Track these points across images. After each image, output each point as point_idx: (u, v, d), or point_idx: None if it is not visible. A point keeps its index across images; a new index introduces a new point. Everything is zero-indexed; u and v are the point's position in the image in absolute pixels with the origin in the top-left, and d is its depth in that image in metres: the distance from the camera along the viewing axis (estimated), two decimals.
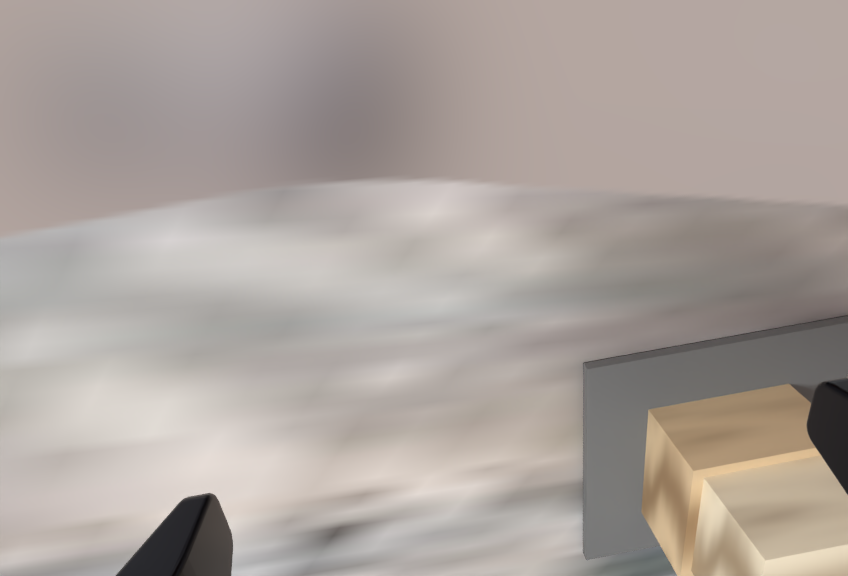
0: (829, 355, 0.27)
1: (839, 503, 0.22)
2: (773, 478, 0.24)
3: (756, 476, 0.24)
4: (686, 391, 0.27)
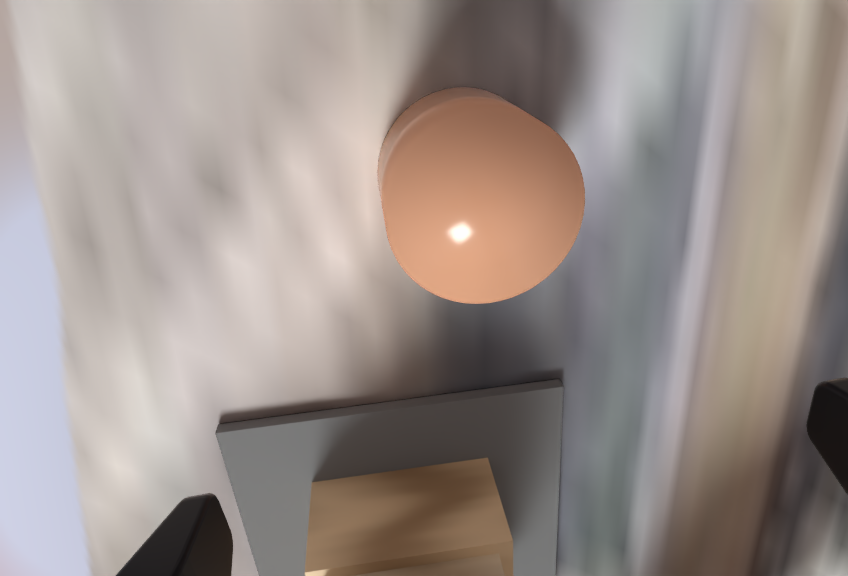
0: (270, 452, 0.22)
1: None
2: None
3: None
4: None
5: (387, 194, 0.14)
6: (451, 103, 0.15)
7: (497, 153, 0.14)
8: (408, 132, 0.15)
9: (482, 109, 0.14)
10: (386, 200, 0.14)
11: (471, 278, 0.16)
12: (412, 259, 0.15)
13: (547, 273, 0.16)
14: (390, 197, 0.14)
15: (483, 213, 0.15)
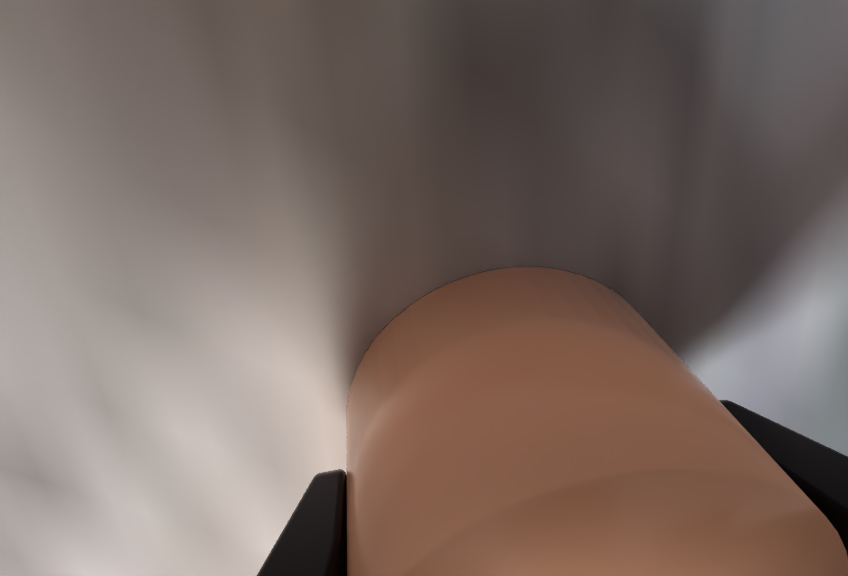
0: None
1: None
2: None
3: None
4: None
5: None
6: (500, 376, 0.06)
7: (639, 554, 0.05)
8: (398, 452, 0.06)
9: (602, 471, 0.05)
10: None
11: None
12: None
13: None
14: None
15: None
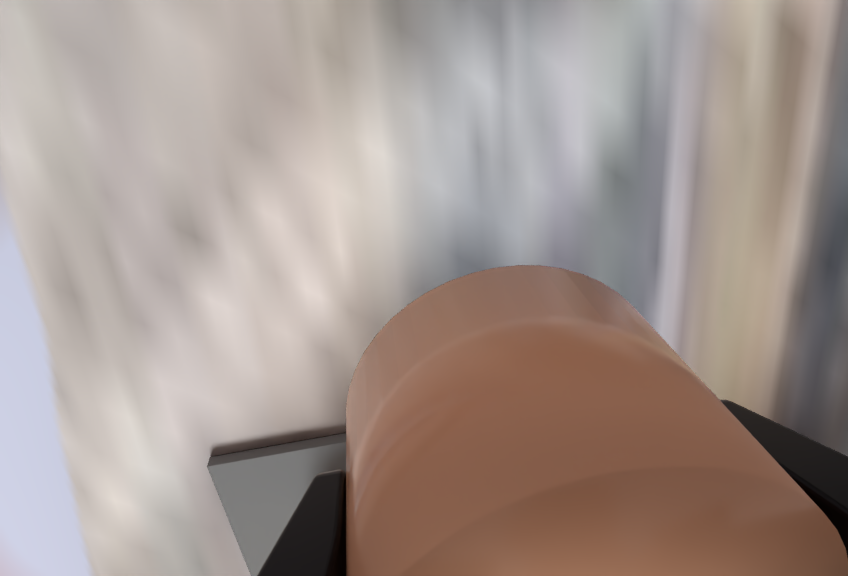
0: (261, 481, 0.22)
1: None
2: None
3: None
4: None
5: None
6: (499, 375, 0.06)
7: (638, 552, 0.05)
8: (398, 450, 0.06)
9: (602, 469, 0.05)
10: None
11: None
12: None
13: None
14: None
15: None
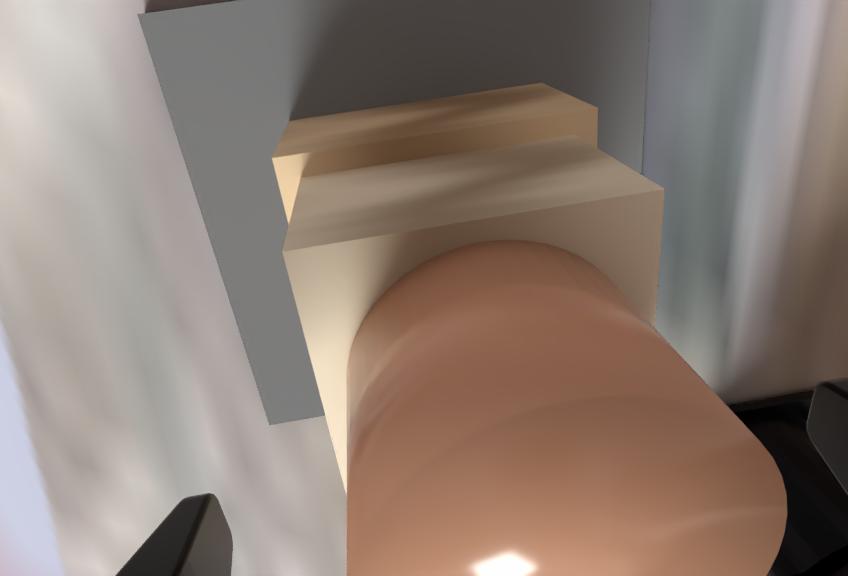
0: (223, 57, 0.15)
1: None
2: None
3: None
4: None
5: (349, 570, 0.06)
6: (482, 328, 0.07)
7: (599, 475, 0.06)
8: (392, 395, 0.07)
9: (565, 397, 0.06)
10: None
11: None
12: None
13: None
14: None
15: (564, 575, 0.07)
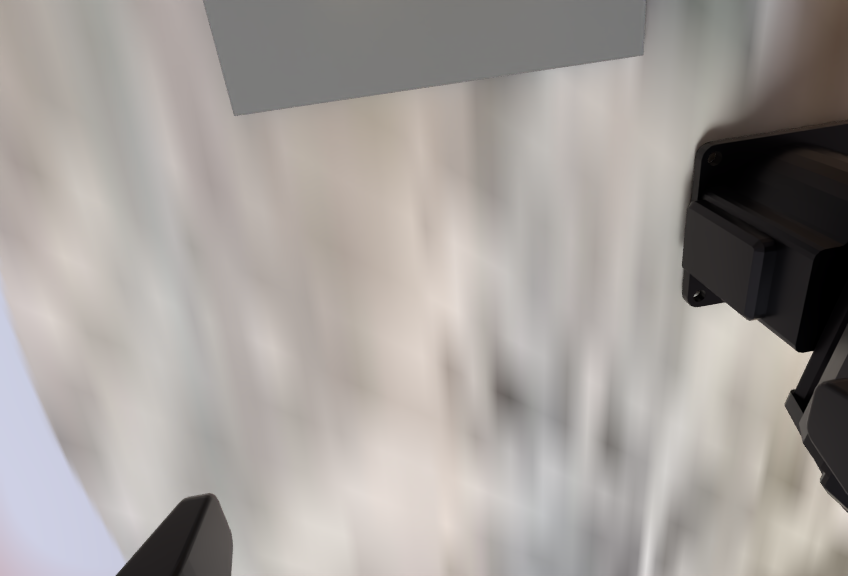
0: None
1: None
2: None
3: None
4: None
5: None
6: None
7: None
8: None
9: None
10: None
11: None
12: None
13: None
14: None
15: None
